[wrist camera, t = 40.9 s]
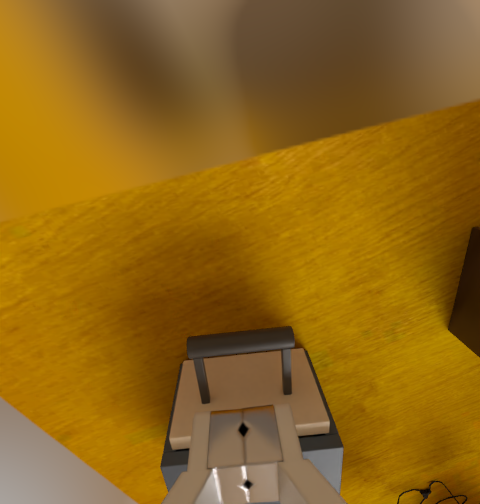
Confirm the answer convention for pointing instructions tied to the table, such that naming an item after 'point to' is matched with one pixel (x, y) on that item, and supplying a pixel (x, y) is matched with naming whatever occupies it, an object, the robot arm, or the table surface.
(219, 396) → the drawer
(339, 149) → the table surface
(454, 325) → the stand
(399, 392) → the table surface
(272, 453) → the robot arm
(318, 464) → the cabinet
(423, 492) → the headphones
